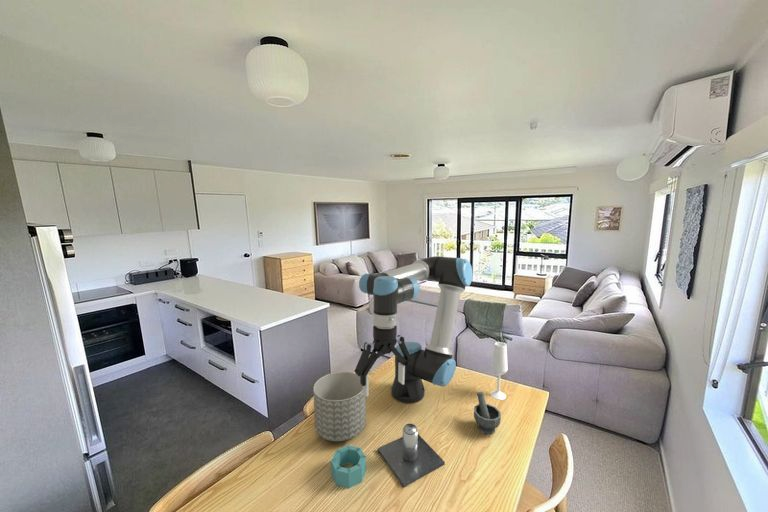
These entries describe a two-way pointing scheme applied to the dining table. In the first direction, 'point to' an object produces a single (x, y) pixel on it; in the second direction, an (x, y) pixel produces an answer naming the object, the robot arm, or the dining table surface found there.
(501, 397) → the champagne flute
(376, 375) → the dining table surface
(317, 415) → the planter
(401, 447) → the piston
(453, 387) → the dining table surface
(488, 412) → the mortar and pestle
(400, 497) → the dining table surface
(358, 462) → the ring
